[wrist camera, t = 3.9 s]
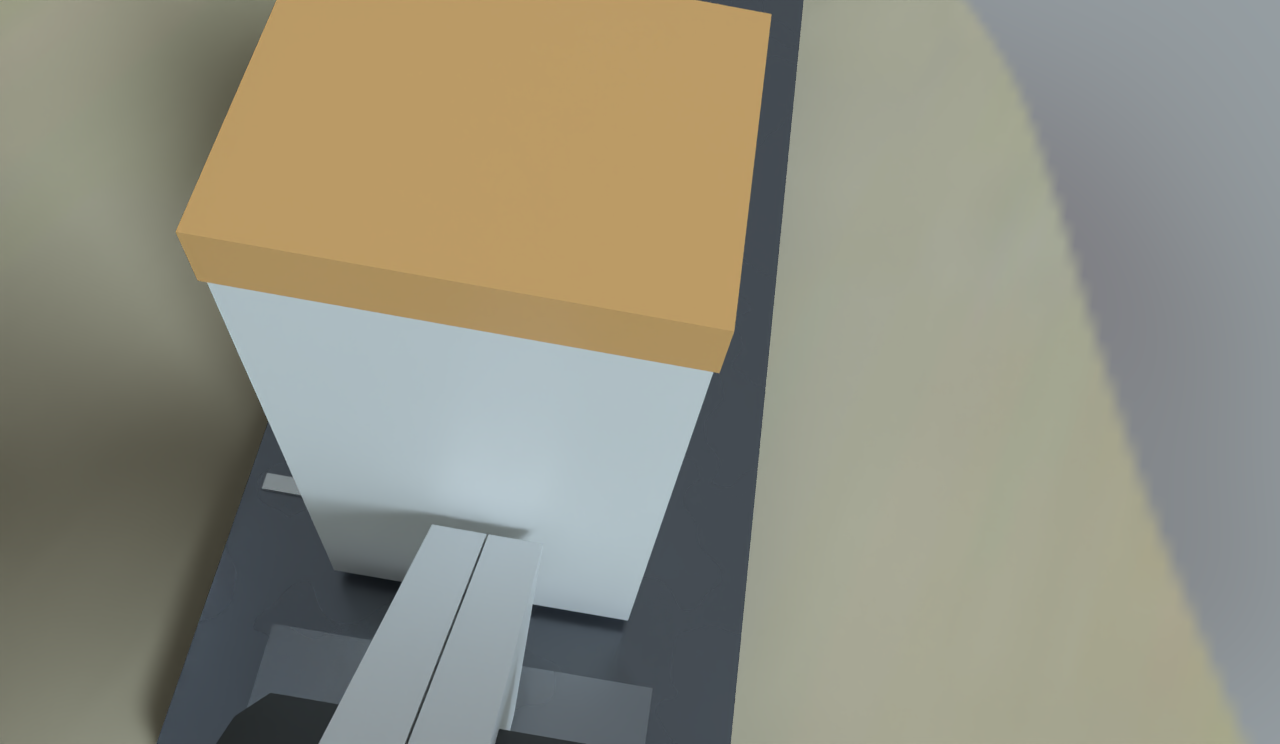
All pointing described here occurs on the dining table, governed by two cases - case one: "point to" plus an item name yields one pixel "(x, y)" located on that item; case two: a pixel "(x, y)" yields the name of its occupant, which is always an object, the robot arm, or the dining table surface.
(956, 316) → the dining table surface
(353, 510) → the fader knob
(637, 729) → the board
